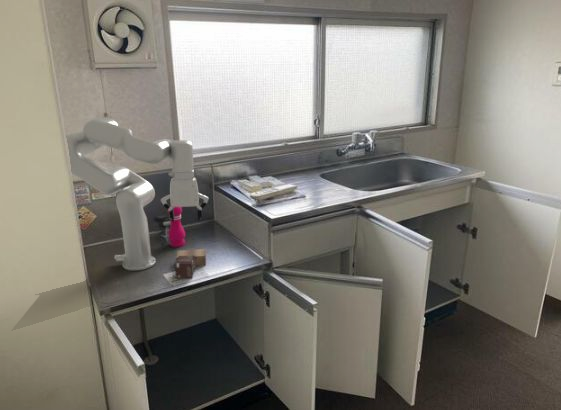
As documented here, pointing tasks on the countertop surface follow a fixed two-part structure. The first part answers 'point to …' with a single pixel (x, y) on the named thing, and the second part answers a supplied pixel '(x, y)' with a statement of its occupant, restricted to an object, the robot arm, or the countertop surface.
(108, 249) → the countertop surface
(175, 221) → the pepper mill
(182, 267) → the box
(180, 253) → the light brown rectangular block
